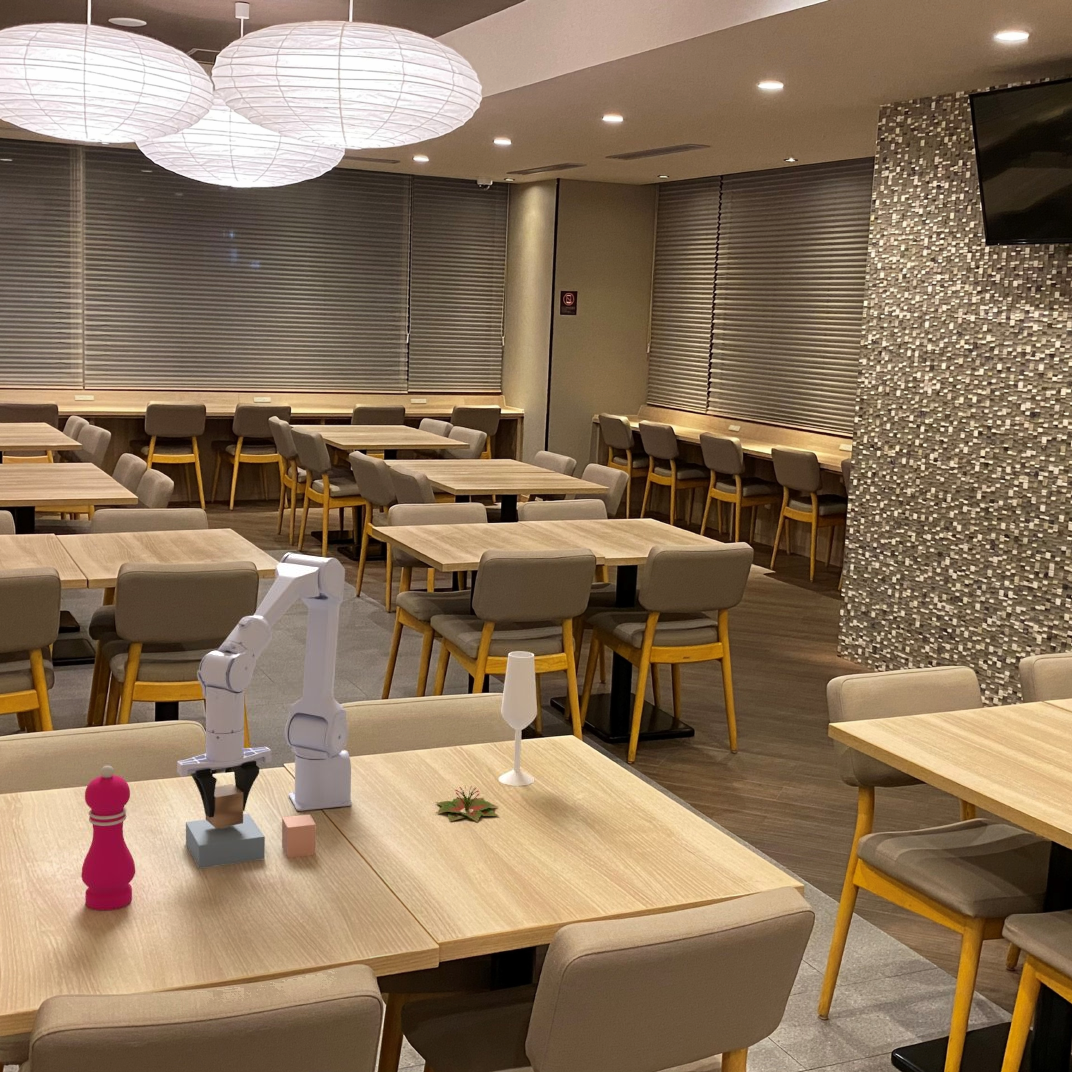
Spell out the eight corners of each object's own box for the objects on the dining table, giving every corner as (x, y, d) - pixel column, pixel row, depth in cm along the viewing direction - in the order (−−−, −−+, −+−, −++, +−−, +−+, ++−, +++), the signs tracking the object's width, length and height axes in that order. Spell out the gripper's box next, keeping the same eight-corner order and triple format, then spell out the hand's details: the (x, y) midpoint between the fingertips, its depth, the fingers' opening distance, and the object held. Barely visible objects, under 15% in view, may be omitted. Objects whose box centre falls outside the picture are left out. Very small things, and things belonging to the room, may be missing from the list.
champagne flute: (534, 786, 230) (539, 659, 227) (497, 785, 231) (502, 658, 227) (534, 774, 237) (539, 650, 233) (499, 772, 237) (503, 649, 234)
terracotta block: (309, 844, 201) (309, 814, 200) (315, 854, 197) (315, 824, 196) (281, 847, 199) (282, 817, 198) (287, 858, 195) (287, 827, 194)
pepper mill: (85, 916, 173) (83, 777, 170) (78, 895, 179) (76, 760, 176) (139, 907, 176) (138, 770, 173) (130, 886, 183) (129, 754, 179)
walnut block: (232, 814, 199) (232, 783, 198) (243, 823, 195) (243, 792, 195) (205, 819, 196) (205, 788, 196) (215, 828, 193) (215, 797, 192)
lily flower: (488, 797, 225) (489, 773, 224) (510, 822, 214) (511, 796, 213) (424, 804, 221) (424, 779, 220) (443, 829, 210) (443, 803, 209)
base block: (248, 837, 203) (248, 813, 202) (264, 861, 194) (264, 836, 194) (185, 846, 199) (185, 822, 198) (199, 870, 190) (199, 845, 189)
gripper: (258, 714, 201) (258, 795, 203) (169, 727, 192) (170, 812, 194) (277, 726, 195) (276, 809, 197) (186, 740, 187) (186, 827, 189)
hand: (224, 812), depth 195 cm, fingers closed on walnut block, 4 cm apart
